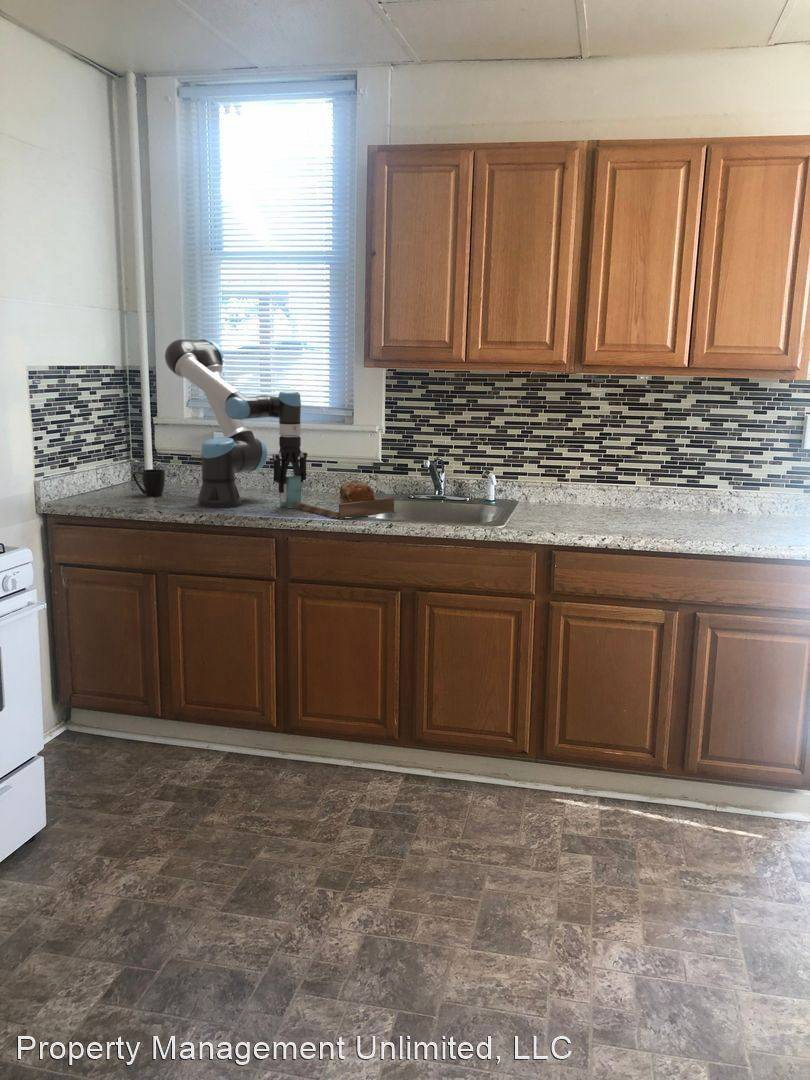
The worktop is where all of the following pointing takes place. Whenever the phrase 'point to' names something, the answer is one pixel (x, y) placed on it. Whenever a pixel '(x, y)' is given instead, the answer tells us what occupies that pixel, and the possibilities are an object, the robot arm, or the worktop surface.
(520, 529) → the worktop surface
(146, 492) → the mug
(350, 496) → the bread
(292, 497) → the sled
